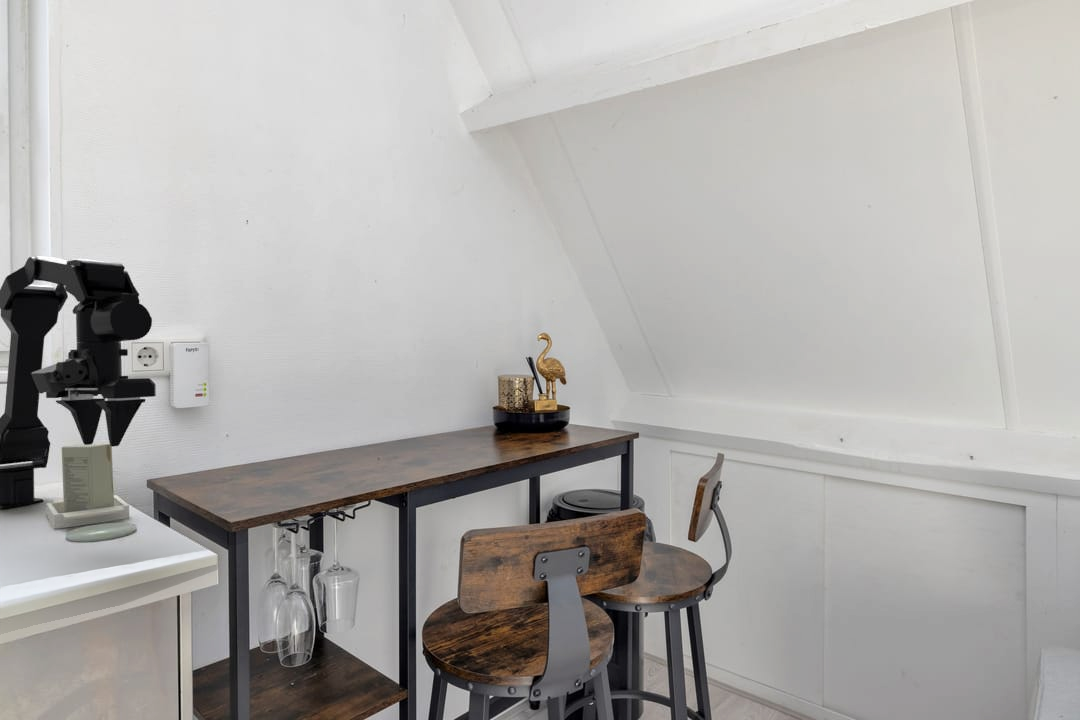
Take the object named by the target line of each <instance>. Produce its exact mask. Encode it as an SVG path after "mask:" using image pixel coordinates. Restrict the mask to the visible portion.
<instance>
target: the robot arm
mask: <svg viewBox="0 0 1080 720" xmlns="http://www.w3.org/2000/svg"><path fill="white" fill-rule="evenodd" d="M125 268H126V267H125V265H124V264H123V263H121V262H114V261H113V262H112V261H104V260H97V259H96V260H94V259H86V258H84V259H83V258H73V259H69V260H65V259H62V258H59V257H50V256H40V255H34V256H29V257H28V258H27V259H26V261H25V264H24V265H23V266H22V267H21V268H19V269H16V270H15V271H14V272H12V273H10V274H9V275H7V276H6V277H5V278H4V280H3V283H2V285H1V287H0V318H1V319H2V321H3V322H4V323H5V325H6V326H7V329H8V330H9V331H10V341H9V355H8V364H7V365H8V367H7V378H6V379H7V380H6V391H5V403H4V413H3V414H2V415H1V416H0V509H9V508H15V507H20V506H27V505H32V504H39V503H43V502H44V498H39V497H35V469H46V468H47V466H48V465H47V464H48V462H49V454H50V448H51V442H50V439H49V430H48V428H47V427H46V426H45V425H44V424H43V422H42V421H41V419H40V418H39V416H38V414H39V402H40V394H44V393H45V398H46V399H59V398H60V399H59V400H55V402H56V404H58V405H61V406H63V407H64V408H65V409H67V410H68V411H69V412H70V414H71V416H72V418H73V420H74V422H75V423H74V424H75V426H76V427H77V430H78V433H79V435H80V438H81V441H82V442H83V443H82V444H84V445H90V444H94V440H95V438H96V435H97V431H98V428H99V423H100V419H101V416H102V413H103V411H104V413H105V421H106V428H107V436H108V441H109V444H110V446H112V447H118V446H120V444H121V442H122V440H123V439H124V436H125V434H126V432H127V430H128V428H129V427H130V425H131V423H132V421H133V418H135V416H136V414H137V412H138V410H139V409H140V407H141V406H142V403H146V398H151V397H156V396H157V394H156V393H157V391H156V389H157V388H156V386H157V385H156V383H155V382H154V381H153V380H152V379H151V378H150V377H147V378H146V377H145V378H144V377H143V378H142V377H141V378H129V375H123V374H122V373H123V371H122V370H123V369H122V366H123V365H122V364H123V363H122V357H126V356H129V355H128V353H129V351H128V350H129V349H128V348H122V342H124V341H125V342H127V341H129V342H130V341H136V340H140V339H143V338H144V337H145V336H147V335H148V334H149V332H150V330H151V329H152V324H153V318H152V316H151V314H150V312H149V310H148V309H147V307H145V306H144V304H143V303H142V304H141V303H140V298H139V296H140V293H139V292H138V290H137V289H136V287H135V285H134V283H133V281H132V279H131V276H130V274H129V272H128V270H125ZM34 281H42V282H47V283H52V284H57V285H56V287H54V286H52V285H45V284H44V285H43V284H33V283H34ZM68 293H69V294H70V295H72V296H73V297H74V298H75V300H76V302H78V303H77V304H76V305H75V306H74V307H73V309H72V314H73V315H74V314H75V321H76V323H75V325H76V326H75V328H76V330H75V333H76V349H70V351H69V352H68V356H67V357H68V358H67V359H65V360H63V361H58V362H56V363H54V364H53V365H48V366H46V367H44V368H42V367H43V357H44V346H45V345H44V344H45V337H46V336H47V335H48V333H50V331H51V330H52V329H53V328H54V327H55V326H56V324H57V323H58V318H59V313H60V311H61V310H62V309H63V307H64V305H65V303H66V301H67V299H68V298H69V296H68V295H69V294H68ZM99 395H101V396H102V397H101V398H97V396H99ZM94 397H95V398H94ZM106 399H107V400H106ZM18 463H19V464H18Z"/></svg>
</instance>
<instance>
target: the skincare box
mask: <svg viewBox="0 0 1080 720" xmlns="http://www.w3.org/2000/svg"><path fill="white" fill-rule="evenodd" d="M112 449H113V448H112V446H110V443H97V444H96V443H92V444H90V445H84V443H81V444H73V445H65V446H62V447H61V460H62V461H61V462H62V463H61V465H62V466H61V467H62V471H61V472H62V492H63V497H62V498H64V513H68V512H75V511H83V510H91V509H99V508H106V507H114V495H115V494H114V474H113V471H114V469H113V450H112Z"/></svg>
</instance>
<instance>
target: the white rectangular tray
mask: <svg viewBox="0 0 1080 720" xmlns="http://www.w3.org/2000/svg"><path fill="white" fill-rule="evenodd" d="M51 501H52V502H49V503H48V502H47V503H46V505H45V506H46V509H45V510H46V513H45V514H46V517H47V519H48V520H49V523H50V525H51V526H52V528H53V529H54V530H57V529H63V528H65V529H66V528H70V527H79V526H87V525H94V524H101V523H108V522H112V521H119V520H124V518H125V519H129V518H130V505H129V503H127V502H126V501H125V500H123V499H122V498H121V497H120V496H118V495H117V494H114V507H106V508H99V509H91V510H83V511H75V512H68V513H64V497H62V498H57V499H52V500H51Z"/></svg>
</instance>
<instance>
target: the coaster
mask: <svg viewBox="0 0 1080 720" xmlns="http://www.w3.org/2000/svg"><path fill="white" fill-rule="evenodd" d="M136 531H137V525H136V524H135V523H132V522H104V523H96V524H90V525H85V526H81V527H77V528H75V529H72V530H69V531H67V532H66V533H65V540H66V541H69V542H76V543H77V542H78V543H85V542H86V543H87V542H99V541H106V540H114V539H117V538H121V537H126V536H128V535H132V534H133V533H135V532H136Z"/></svg>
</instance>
